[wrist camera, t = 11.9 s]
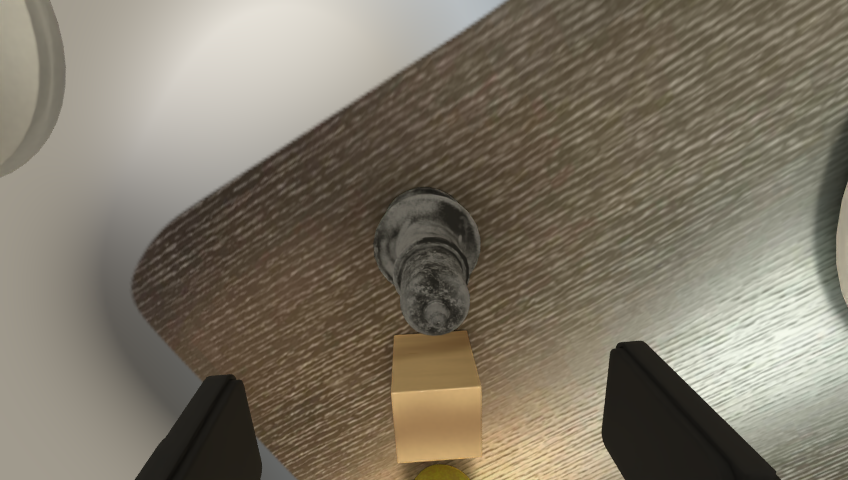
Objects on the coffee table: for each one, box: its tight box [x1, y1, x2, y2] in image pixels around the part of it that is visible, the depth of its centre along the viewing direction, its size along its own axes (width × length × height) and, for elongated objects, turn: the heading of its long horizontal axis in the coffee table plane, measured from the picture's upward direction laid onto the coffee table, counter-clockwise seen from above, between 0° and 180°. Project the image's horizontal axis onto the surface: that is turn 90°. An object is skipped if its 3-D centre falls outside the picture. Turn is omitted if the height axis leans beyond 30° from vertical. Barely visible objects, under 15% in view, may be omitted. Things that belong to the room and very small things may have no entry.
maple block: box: [391, 331, 482, 463], centre depth 27 cm, size 5×5×6 cm
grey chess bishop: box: [373, 187, 480, 336], centre depth 21 cm, size 6×6×12 cm
